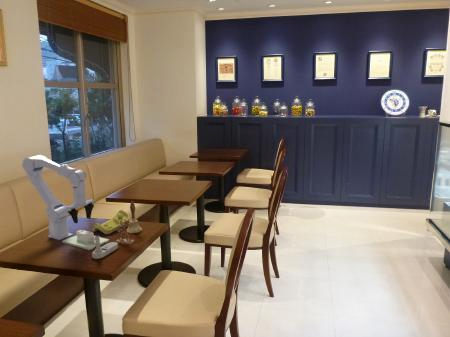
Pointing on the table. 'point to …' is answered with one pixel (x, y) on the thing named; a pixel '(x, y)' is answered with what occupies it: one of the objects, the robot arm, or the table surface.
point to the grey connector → (85, 236)
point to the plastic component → (112, 223)
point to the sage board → (82, 244)
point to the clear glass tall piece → (122, 240)
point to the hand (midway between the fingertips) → (82, 220)
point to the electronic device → (103, 249)
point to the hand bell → (133, 221)
